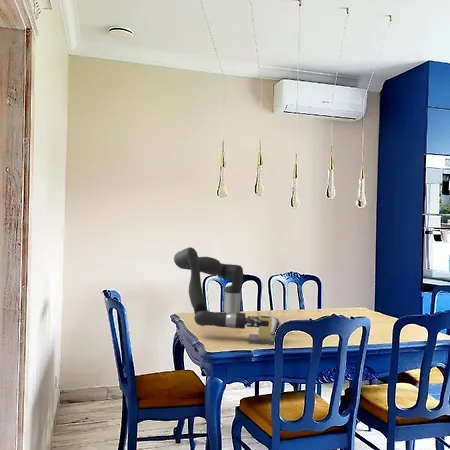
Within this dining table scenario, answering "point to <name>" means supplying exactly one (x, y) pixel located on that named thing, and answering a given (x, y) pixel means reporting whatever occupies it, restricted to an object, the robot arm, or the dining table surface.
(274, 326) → the hinge
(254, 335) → the shaft stand
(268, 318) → the tan rectangular block
